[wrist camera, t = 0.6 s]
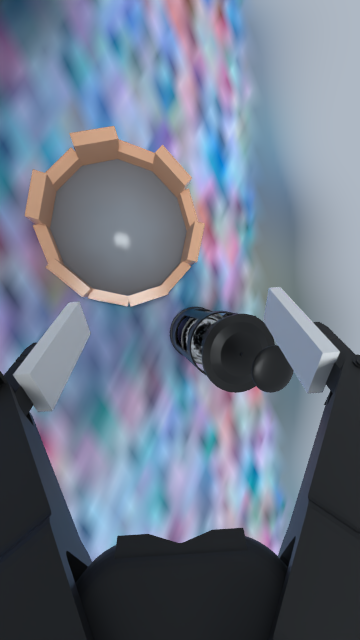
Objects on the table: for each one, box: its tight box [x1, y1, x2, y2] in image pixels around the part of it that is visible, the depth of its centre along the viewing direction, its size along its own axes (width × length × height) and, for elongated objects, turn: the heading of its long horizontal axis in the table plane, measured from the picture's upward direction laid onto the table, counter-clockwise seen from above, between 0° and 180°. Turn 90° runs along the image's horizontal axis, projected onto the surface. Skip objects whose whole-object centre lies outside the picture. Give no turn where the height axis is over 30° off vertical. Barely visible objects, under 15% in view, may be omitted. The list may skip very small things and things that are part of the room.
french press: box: [170, 307, 293, 393], centre depth 31 cm, size 12×9×23 cm
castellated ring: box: [25, 126, 205, 307], centre depth 34 cm, size 24×24×6 cm
